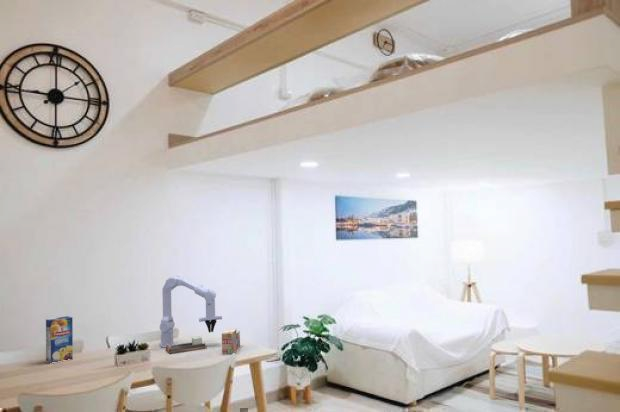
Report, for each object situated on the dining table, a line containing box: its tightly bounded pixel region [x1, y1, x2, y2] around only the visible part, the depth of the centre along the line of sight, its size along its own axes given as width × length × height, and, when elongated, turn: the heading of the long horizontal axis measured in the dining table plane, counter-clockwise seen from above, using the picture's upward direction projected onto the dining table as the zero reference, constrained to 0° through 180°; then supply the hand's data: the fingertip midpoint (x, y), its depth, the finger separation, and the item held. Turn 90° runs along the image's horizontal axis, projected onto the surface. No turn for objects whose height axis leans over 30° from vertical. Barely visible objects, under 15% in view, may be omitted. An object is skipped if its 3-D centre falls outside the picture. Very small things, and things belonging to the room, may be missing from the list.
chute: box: [164, 342, 207, 355], centre depth 297 cm, size 12×22×4 cm, turn 120°
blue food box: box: [45, 315, 74, 364], centre depth 280 cm, size 12×8×24 cm, turn 138°
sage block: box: [191, 336, 203, 345], centre depth 301 cm, size 5×5×5 cm
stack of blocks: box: [221, 328, 241, 355], centre depth 294 cm, size 21×6×12 cm, turn 176°
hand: (210, 332), depth 306 cm, fingers closed
